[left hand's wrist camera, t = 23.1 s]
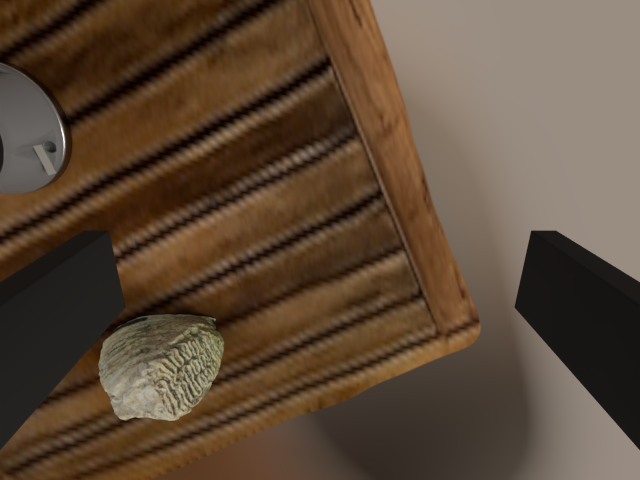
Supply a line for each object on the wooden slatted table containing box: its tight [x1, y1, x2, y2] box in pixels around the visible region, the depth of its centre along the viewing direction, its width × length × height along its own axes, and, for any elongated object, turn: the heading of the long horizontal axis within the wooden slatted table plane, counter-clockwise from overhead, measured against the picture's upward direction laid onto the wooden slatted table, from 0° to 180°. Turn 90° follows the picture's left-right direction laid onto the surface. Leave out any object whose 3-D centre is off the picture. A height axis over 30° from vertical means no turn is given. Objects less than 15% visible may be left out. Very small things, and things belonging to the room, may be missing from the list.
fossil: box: [99, 314, 224, 421], centre depth 51 cm, size 9×18×15 cm, turn 110°
